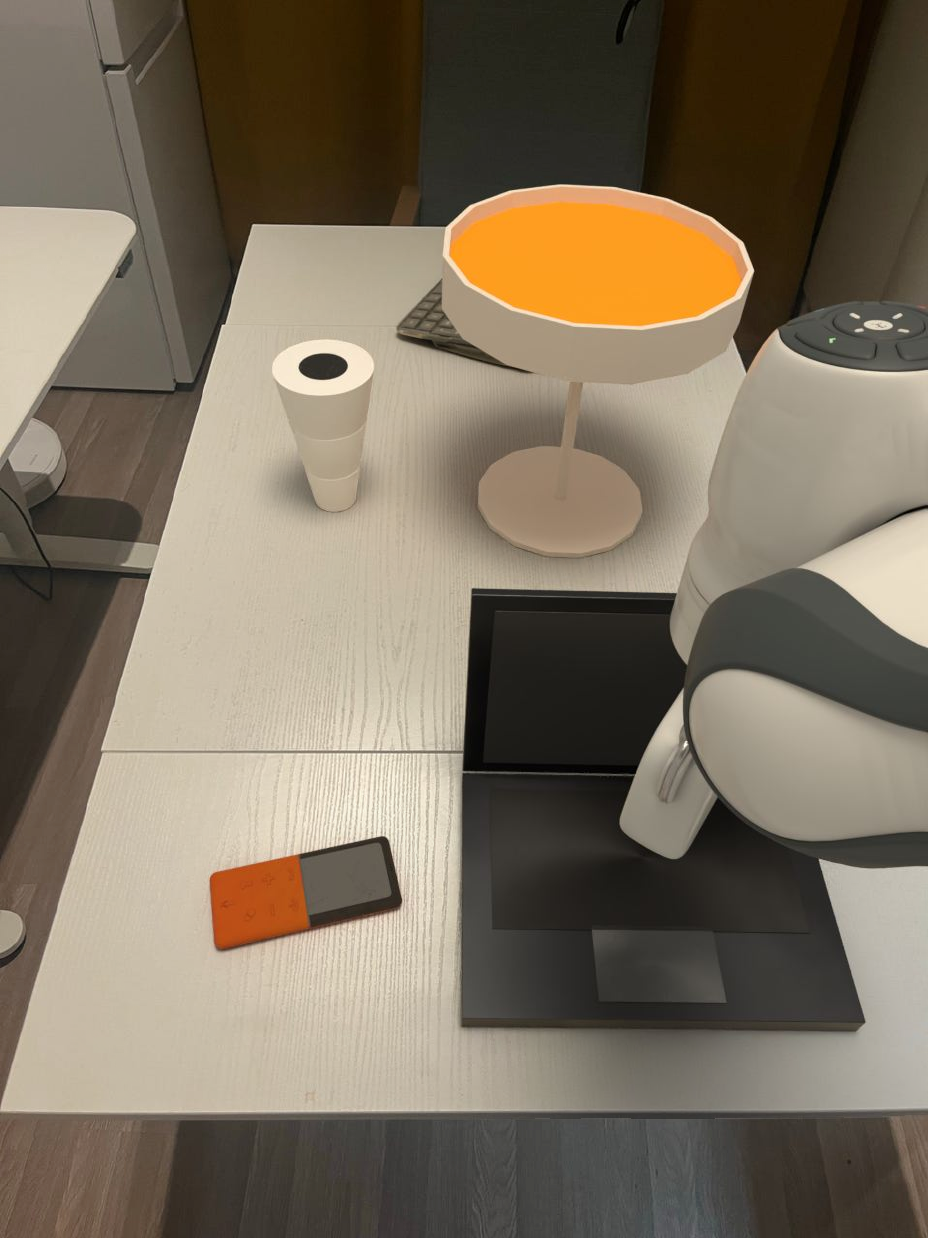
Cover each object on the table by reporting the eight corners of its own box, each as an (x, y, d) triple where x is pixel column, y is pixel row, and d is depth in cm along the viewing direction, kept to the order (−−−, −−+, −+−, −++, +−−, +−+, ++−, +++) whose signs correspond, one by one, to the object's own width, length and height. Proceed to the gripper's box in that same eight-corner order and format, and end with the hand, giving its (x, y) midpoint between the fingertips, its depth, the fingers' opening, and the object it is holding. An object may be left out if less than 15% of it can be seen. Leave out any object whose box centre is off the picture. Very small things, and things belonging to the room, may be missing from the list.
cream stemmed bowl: (523, 401, 122) (547, 161, 99) (722, 487, 111) (802, 239, 88) (386, 515, 105) (376, 258, 82) (605, 629, 94) (665, 369, 71)
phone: (207, 870, 73) (387, 831, 76) (210, 877, 74) (387, 839, 77) (213, 946, 69) (403, 902, 72) (216, 953, 70) (403, 909, 73)
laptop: (620, 283, 145) (632, 219, 137) (555, 383, 125) (564, 314, 117) (476, 250, 151) (479, 186, 143) (392, 339, 131) (390, 271, 123)
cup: (398, 493, 108) (394, 362, 95) (339, 541, 102) (327, 407, 89) (332, 459, 112) (319, 328, 99) (271, 503, 106) (250, 370, 93)
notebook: (856, 1031, 68) (866, 1022, 66) (461, 1027, 67) (461, 1017, 65) (788, 790, 82) (795, 778, 80) (461, 784, 81) (462, 772, 79)
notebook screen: (876, 605, 66) (872, 597, 67) (471, 595, 65) (471, 587, 66) (795, 778, 80) (792, 770, 81) (462, 772, 79) (462, 764, 80)
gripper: (744, 793, 38) (678, 932, 48) (884, 531, 49) (808, 688, 59) (611, 723, 40) (575, 870, 50) (775, 489, 52) (719, 646, 62)
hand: (703, 769), depth 55 cm, fingers open, 8 cm apart
